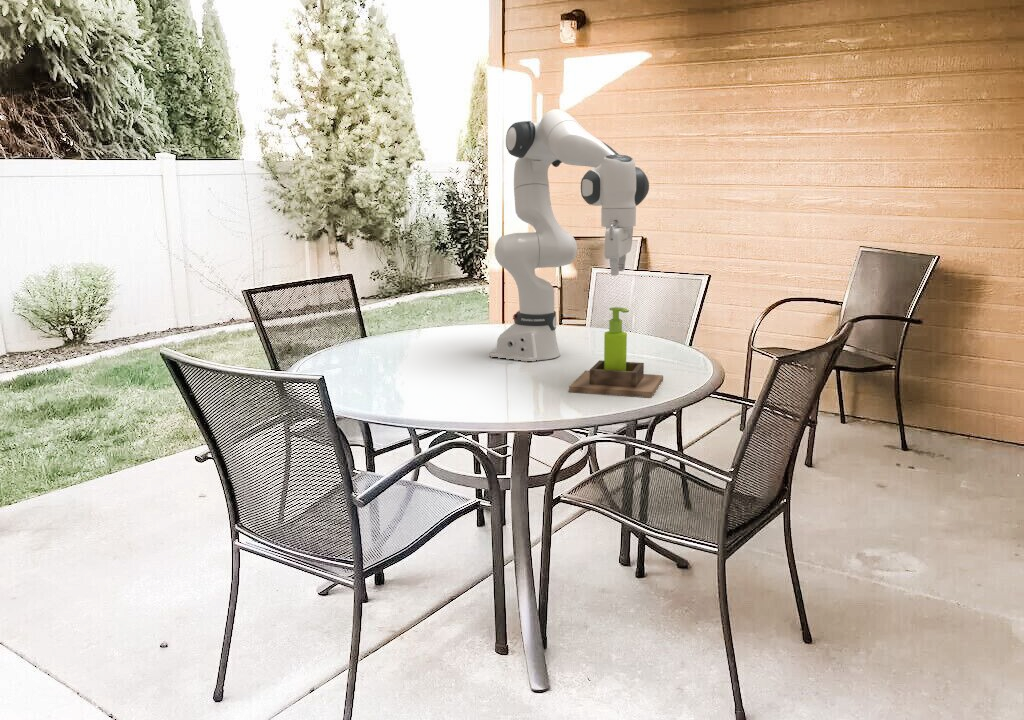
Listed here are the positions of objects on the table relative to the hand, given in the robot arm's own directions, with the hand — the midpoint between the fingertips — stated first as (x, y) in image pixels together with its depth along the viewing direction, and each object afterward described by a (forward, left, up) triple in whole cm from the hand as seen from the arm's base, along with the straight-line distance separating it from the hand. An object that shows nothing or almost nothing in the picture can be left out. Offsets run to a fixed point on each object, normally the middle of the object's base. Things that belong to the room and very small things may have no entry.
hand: (617, 273), depth 204 cm
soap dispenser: (0, 0, -29) cm, 29 cm away
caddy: (0, 0, -31) cm, 31 cm away
